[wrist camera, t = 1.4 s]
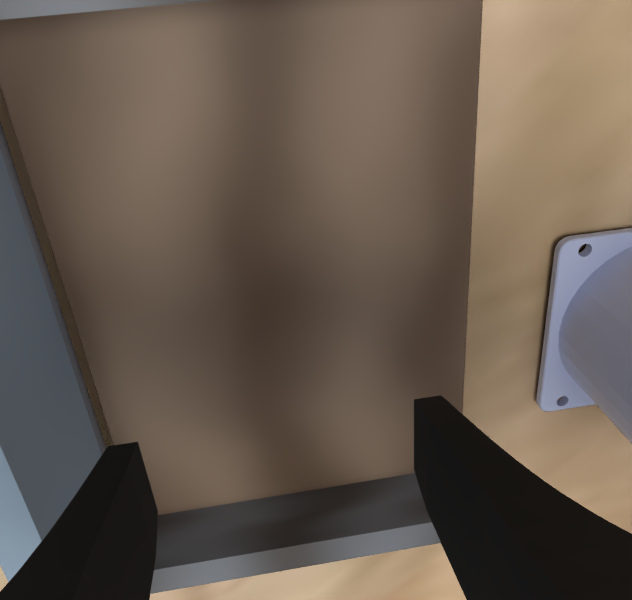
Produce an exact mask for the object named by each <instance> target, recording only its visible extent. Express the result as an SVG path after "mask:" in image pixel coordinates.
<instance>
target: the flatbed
mask: <svg viewBox="0 0 632 600" xmlns="http://www.w3.org/2000/svg"><path fill="white" fill-rule="evenodd" d="M482 3H483V0H0V87H1V90H2V93H3V96H4V99H5V102H6V106H7V109H8V112H9V115H10V118H11V121H12V125H13V128H14V131H15V134H16V137H17V140H18V144H19V147H20V150H21V153H22V156H23V159H24V163H25V166H26V169H27V172H28V175H29V178H30V182H31V185H32V188H33V191H34V194H35V197H36V201H37V204H38V207H39V210H40V213H41V216H42V220H43V223H44V226H45V229H46V232H47V235H48V239H49V242H50V245H51V248H52V251H53V254H54V258H55V261H56V264H57V267H58V270H59V273H60V277H61V280H62V283H63V286H64V289H65V292H66V296H67V299H68V302H69V305H70V308H71V311H72V315H73V318H74V321H75V324H76V327H77V330H78V334H79V337H80V340H81V343H82V346H83V349H84V353H85V356H86V359H87V362H88V365H89V368H90V372H91V375H92V378H93V381H94V384H95V387H96V390H97V394H98V397H99V400H100V403H101V406H102V409H103V413H104V416H105V419H106V422H107V425H108V428H109V432H110V435H111V438H112V441H113V444H114V445H119V444H126V443H132V442H138V444H139V448H140V451H141V455H142V458H143V461H144V465H145V468H146V472H147V475H148V479H149V482H150V486H151V489H152V492H153V496H154V499H155V503H156V506H157V510H158V521H157V545H156V560H155V566H154V573H153V579H152V585H151V591H150V594H152V593H158V592H163V591H169V590H175V589H180V588H186V587H192V586H198V585H203V584H209V583H215V582H220V581H226V580H232V579H237V578H243V577H249V576H255V575H260V574H266V573H272V572H277V571H283V570H289V569H295V568H300V567H306V566H312V565H317V564H323V563H329V562H334V561H340V560H346V559H352V558H357V557H363V556H369V555H374V554H380V553H386V552H391V551H397V550H403V549H409V548H414V547H420V546H426V545H431V544H437V543H441V542H440V539H439V537H438V535H437V533H436V530H435V528H434V526H433V524H432V521H431V519H430V517H429V514H428V512H427V509H426V506H425V503H424V500H423V497H422V494H421V491H420V487H419V484H418V481H417V477H416V474H415V471H414V399H419V398H426V397H433V396H439V395H441V396H443V397H444V398H445V399H446V400H447V401H448V402H450V403H451V404H452V405H453V406H454V407H455V408H456V409H457V410H458V411H459V412H461V413H462V409H463V389H464V368H465V348H466V328H467V307H468V287H469V267H470V246H471V226H472V206H473V186H474V165H475V145H476V125H477V104H478V84H479V64H480V44H481V23H482Z"/></svg>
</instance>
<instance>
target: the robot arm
mask: <svg viewBox="0 0 632 600" xmlns="http://www.w3.org/2000/svg"><path fill="white" fill-rule="evenodd" d="M584 244H586V247H585V249H584V250H583V251H582V252H579V253H578V251H579V248H580V247H581V246H582V245H584ZM562 396H563V397H562ZM560 397H562V398H561V399H560V400H558V399H559V398H560ZM536 401H537V404H538V405H539V407H540V408H541V409H542V410H543V411H556V410H562V409H569V408H575V407H581V406H588V405H594V404H596V405H597V406H598V407H599V408H600V409H601V410H602V411H603V412H604V414H605V415H606V416H607V417H608V418H609V419H610V420H611V421H612V422H613V423H614V425H615V426H616V427H617V428H618V429H619V430H620V431H621V432H622V433H623V435H624V436H625V437H626V438H627V439H628V440H629V441H630V442H631V443H632V228H627V229H619V230H612V231H604V232H596V233H589V234H581V235H574V236H568V237H565V238H563V239H562V240H560V241H559V242H558V244H557V245H556V248H555V252H554V260H553V269H552V277H551V285H550V293H549V301H548V309H547V317H546V325H545V334H544V342H543V350H542V358H541V366H540V374H539V382H538V390H537V399H536ZM414 471H415V474H416V477H417V481H418V484H419V487H420V491H421V494H422V497H423V500H424V503H425V506H426V509H427V512H428V514H429V517H430V519H431V521H432V524H433V526H434V528H435V530H436V533H437V535H438V537H439V539H440V542H441V544H442V546H443V548H444V550H445V553H446V555H447V557H448V559H449V561H450V564H451V566H452V568H453V570H454V573H455V575H456V577H457V579H458V581H459V584H460V586H461V588H462V590H463V592H464V595H465V597H466V599H467V600H632V534H631V533H629V532H627V531H625V530H623V529H621V528H620V527H618V526H616V525H614V524H612V523H610V522H608V521H607V520H605V519H603V518H601V517H600V516H598V515H596V514H594V513H593V512H591V511H589V510H588V509H586V508H585V507H583V506H581V505H580V504H578V503H577V502H575V501H573V500H572V499H570V498H569V497H567V496H565V495H564V494H562V493H561V492H559V491H558V490H556V489H555V488H553V487H552V486H550V485H549V484H548V483H546V482H545V481H543V480H542V479H541V478H539V477H538V476H537V475H535V474H534V473H532V472H531V471H530V470H528V469H527V468H526V467H525V466H523V465H522V464H521V463H519V462H518V461H517V460H515V459H514V458H513V457H512V456H511V455H509V454H508V453H507V452H506V451H504V450H503V449H502V448H501V447H500V446H498V445H497V444H496V443H495V442H493V441H492V440H491V439H490V438H489V437H488V436H486V435H485V434H484V433H483V432H482V431H481V430H480V429H478V428H477V427H476V426H475V425H474V424H473V423H472V422H470V421H469V420H468V419H467V418H466V417H465V416H464V415H463V414H462V413H461V412H459V411H458V410H457V409H456V408H455V407H454V406H453V405H452V404H451V403H450V402H448V401H447V400H446V399H445V398H444V397H443V396H441V395H439V396H433V397H426V398H419V399H414ZM157 521H158V510H157V506H156V503H155V499H154V496H153V492H152V489H151V486H150V482H149V479H148V475H147V472H146V468H145V465H144V461H143V458H142V455H141V451H140V448H139V444H138V442H132V443H126V444H119V445H113V446H108V447H107V449H106V450H105V451H104V452H103V454H102V455H101V457H100V458H99V460H98V461H97V463H96V464H95V466H94V468H93V469H92V471H91V472H90V474H89V475H88V477H87V478H86V480H85V481H84V483H83V484H82V486H81V487H80V489H79V490H78V492H77V493H76V494H75V496H74V497H73V499H72V500H71V502H70V503H69V505H68V506H67V507H66V509H65V510H64V512H63V513H62V514H61V516H60V517H59V519H58V520H57V521H56V523H55V524H54V526H53V527H52V528H51V530H50V531H49V532H48V534H47V535H46V536H45V538H44V539H43V540H42V541H41V543H40V544H39V545H38V547H37V548H36V549H35V550H34V552H33V553H32V554H31V555H30V557H29V558H28V559H27V561H26V562H25V563H24V564H23V566H22V567H21V568H20V569H19V571H18V572H17V573H16V574H15V575H14V576H13V578H12V579H11V580H10V581H9V582H8V584H7V585H6V586H5V587H4V588H3V589H2V590H1V592H0V600H149V598H150V591H151V585H152V579H153V573H154V566H155V560H156V545H157Z"/></svg>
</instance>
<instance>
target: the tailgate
mask: <svg viewBox="0 0 632 600" xmlns="http://www.w3.org/2000/svg"><path fill="white" fill-rule="evenodd" d="M105 450H106V446H105V443H104V440H103V437H102V433H101V430H100V427H99V424H98V421H97V418H96V415H95V412H94V409H93V406H92V403H91V400H90V397H89V393H88V390H87V387H86V384H85V381H84V378H83V375H82V372H81V369H80V366H79V363H78V360H77V357H76V353H75V350H74V347H73V344H72V341H71V338H70V335H69V332H68V329H67V326H66V323H65V320H64V316H63V313H62V310H61V307H60V304H59V301H58V298H57V295H56V292H55V289H54V286H53V283H52V280H51V276H50V273H49V270H48V267H47V264H46V261H45V258H44V255H43V252H42V249H41V246H40V243H39V240H38V236H37V233H36V230H35V227H34V224H33V221H32V218H31V215H30V212H29V209H28V206H27V203H26V200H25V196H24V193H23V190H22V187H21V184H20V181H19V178H18V175H17V172H16V169H15V166H14V163H13V159H12V156H11V153H10V150H9V147H8V144H7V141H6V138H5V135H4V132H3V129H2V126H1V123H0V565H1V568H2V570H3V572H4V574H5V576H6V578H7V580H8V582H9V581H10V580H11V579H12V578H13V576H14V575H15V574H16V573H17V572H18V571H19V569H20V568H21V567H22V566H23V564H24V563H25V562H26V561H27V559H28V558H29V557H30V555H31V554H32V553H33V552H34V550H35V549H36V548H37V547H38V545H39V544H40V543H41V541H42V540H43V539H44V538H45V536H46V535H47V534H48V532H49V531H50V530H51V528H52V527H53V526H54V524H55V523H56V521H57V520H58V519H59V517H60V516H61V514H62V513H63V512H64V510H65V509H66V507H67V506H68V505H69V503H70V502H71V500H72V499H73V497H74V496H75V494H76V493H77V492H78V490H79V489H80V487H81V486H82V484H83V483H84V481H85V480H86V478H87V477H88V475H89V474H90V472H91V471H92V469H93V468H94V466H95V464H96V463H97V461H98V460H99V458H100V457H101V455H102V454H103V452H104V451H105Z"/></svg>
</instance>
